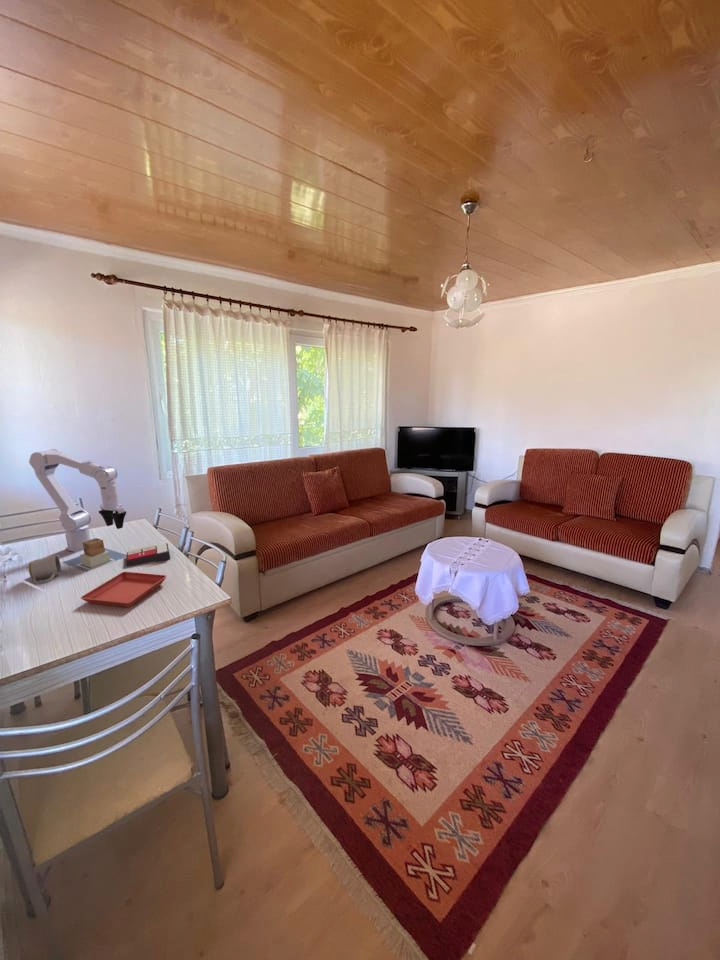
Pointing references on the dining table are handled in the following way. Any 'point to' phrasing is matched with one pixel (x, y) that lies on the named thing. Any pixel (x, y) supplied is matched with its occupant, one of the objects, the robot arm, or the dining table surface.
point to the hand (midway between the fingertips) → (114, 526)
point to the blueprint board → (113, 557)
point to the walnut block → (93, 547)
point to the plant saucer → (124, 589)
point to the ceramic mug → (44, 568)
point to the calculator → (148, 554)
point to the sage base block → (95, 559)
